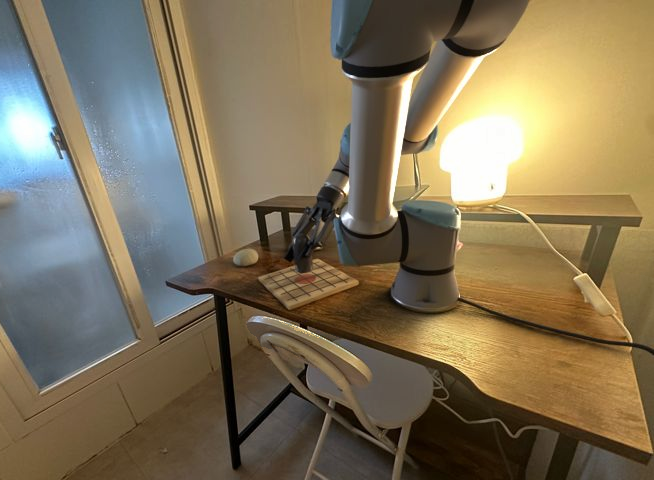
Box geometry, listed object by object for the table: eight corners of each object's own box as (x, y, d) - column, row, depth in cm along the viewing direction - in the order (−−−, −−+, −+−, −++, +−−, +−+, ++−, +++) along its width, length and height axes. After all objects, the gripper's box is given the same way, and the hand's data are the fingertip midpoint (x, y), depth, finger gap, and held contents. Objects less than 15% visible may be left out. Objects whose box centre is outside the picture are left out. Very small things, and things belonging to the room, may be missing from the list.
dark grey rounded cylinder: (316, 269, 87) (313, 233, 83) (300, 275, 86) (296, 238, 81) (307, 264, 92) (304, 229, 87) (292, 269, 90) (288, 234, 85)
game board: (358, 284, 85) (358, 280, 84) (289, 310, 78) (288, 306, 77) (317, 261, 103) (317, 258, 103) (258, 280, 96) (258, 276, 96)
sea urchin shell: (226, 260, 110) (236, 241, 111) (241, 269, 116) (250, 250, 117) (241, 265, 104) (251, 245, 105) (256, 274, 109) (265, 254, 110)
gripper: (364, 203, 80) (320, 278, 81) (322, 196, 95) (284, 260, 95) (349, 187, 76) (302, 267, 76) (306, 182, 90) (267, 249, 91)
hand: (292, 263), depth 86 cm, fingers closed on dark grey rounded cylinder, 5 cm apart
